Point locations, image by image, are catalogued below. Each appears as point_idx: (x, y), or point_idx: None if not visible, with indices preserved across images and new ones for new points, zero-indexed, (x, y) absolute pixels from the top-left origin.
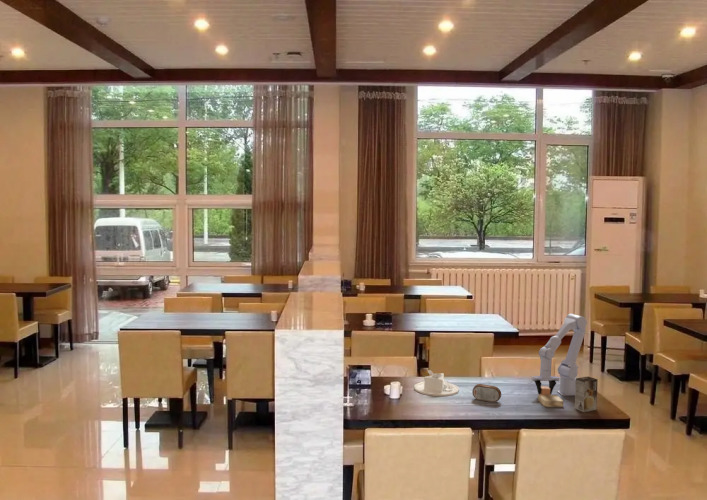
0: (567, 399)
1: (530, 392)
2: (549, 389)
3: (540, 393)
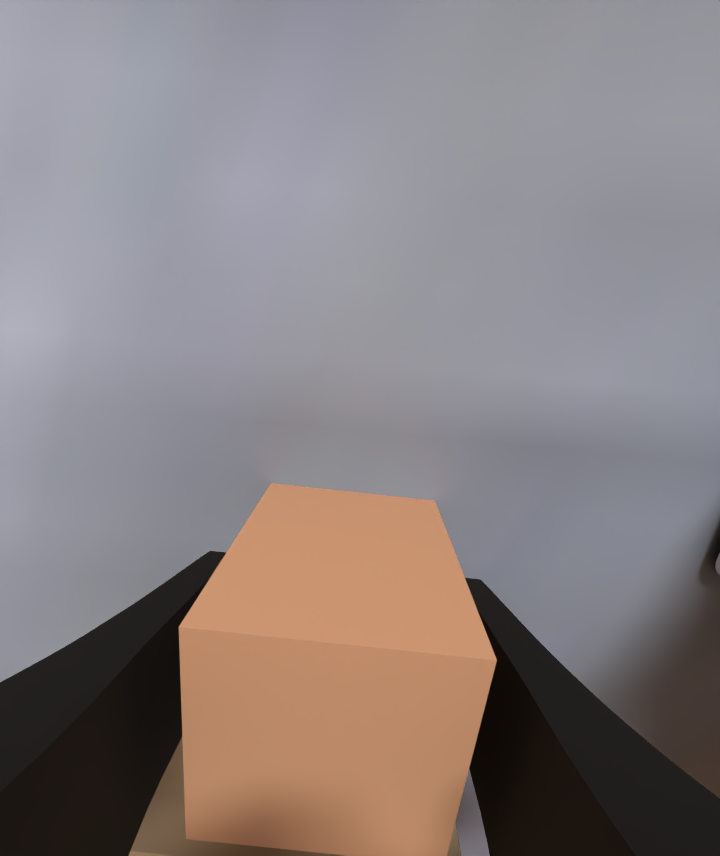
0: (658, 729)
1: (142, 286)
2: (412, 834)
3: None
